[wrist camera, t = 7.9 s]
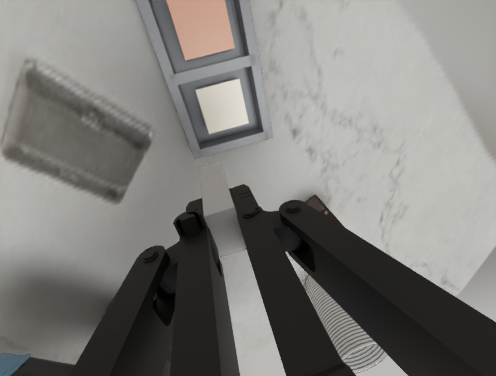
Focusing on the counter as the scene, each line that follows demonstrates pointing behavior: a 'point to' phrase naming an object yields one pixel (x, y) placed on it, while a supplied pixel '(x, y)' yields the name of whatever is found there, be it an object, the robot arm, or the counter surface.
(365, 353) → the cup
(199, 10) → the key terracotta
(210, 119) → the key ivory
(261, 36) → the counter surface
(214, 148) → the gray divided tray
